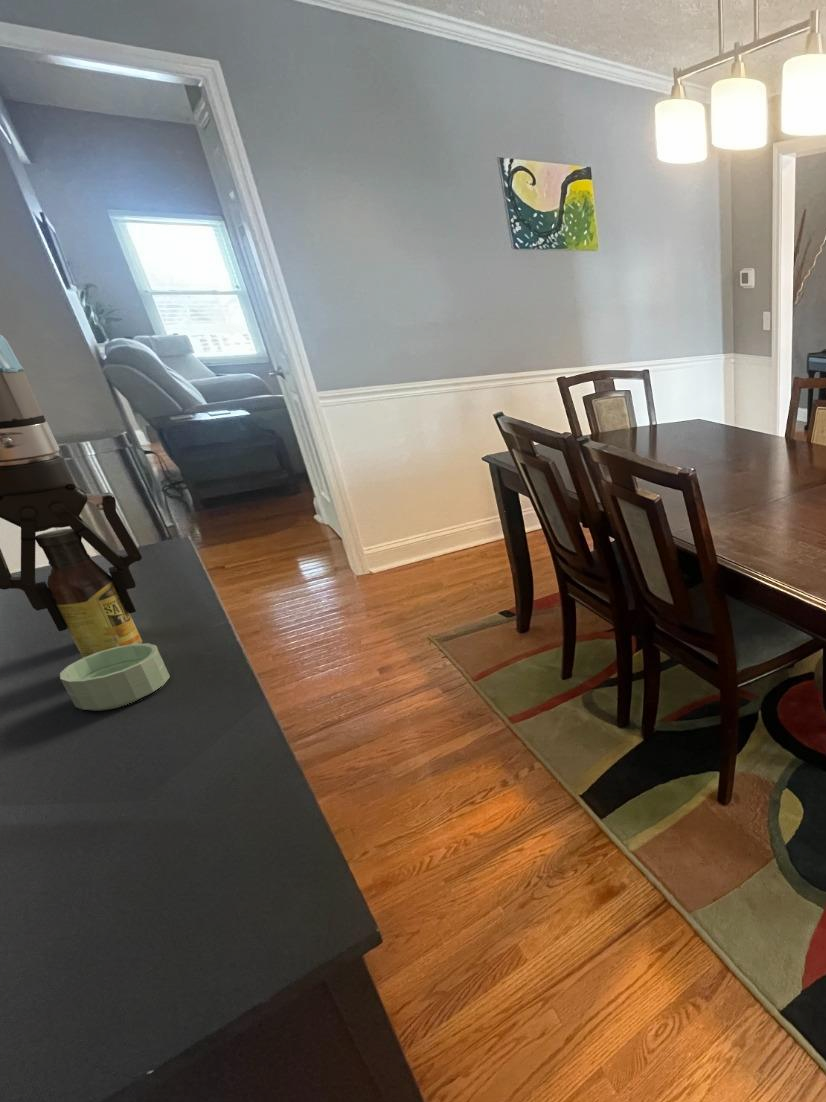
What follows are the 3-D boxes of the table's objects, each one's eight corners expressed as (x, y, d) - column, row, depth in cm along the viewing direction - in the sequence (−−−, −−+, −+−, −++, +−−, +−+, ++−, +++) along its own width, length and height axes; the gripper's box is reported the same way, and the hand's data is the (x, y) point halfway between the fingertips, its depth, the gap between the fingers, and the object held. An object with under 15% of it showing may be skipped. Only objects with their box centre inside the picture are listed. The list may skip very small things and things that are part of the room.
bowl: (56, 714, 77) (37, 682, 75) (122, 674, 85) (107, 644, 83) (130, 712, 77) (113, 680, 75) (188, 672, 85) (175, 642, 83)
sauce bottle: (142, 662, 87) (81, 535, 79) (82, 676, 84) (12, 545, 76) (151, 643, 92) (94, 522, 84) (95, 655, 89) (30, 531, 81)
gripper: (-110, 479, 67) (-7, 654, 76) (125, 450, 80) (190, 603, 89) (-100, 468, 72) (-4, 634, 81) (121, 443, 85) (183, 588, 94)
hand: (98, 618), depth 85 cm, fingers closed on sauce bottle, 6 cm apart
